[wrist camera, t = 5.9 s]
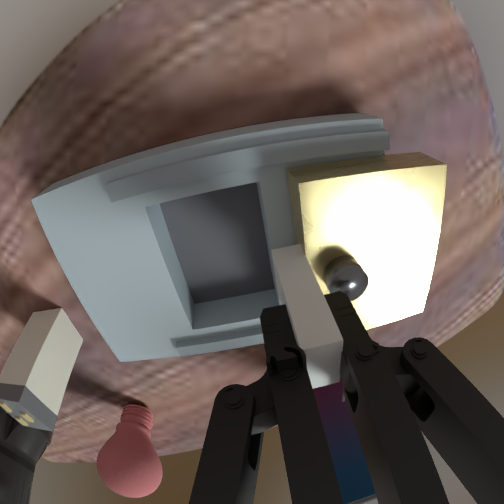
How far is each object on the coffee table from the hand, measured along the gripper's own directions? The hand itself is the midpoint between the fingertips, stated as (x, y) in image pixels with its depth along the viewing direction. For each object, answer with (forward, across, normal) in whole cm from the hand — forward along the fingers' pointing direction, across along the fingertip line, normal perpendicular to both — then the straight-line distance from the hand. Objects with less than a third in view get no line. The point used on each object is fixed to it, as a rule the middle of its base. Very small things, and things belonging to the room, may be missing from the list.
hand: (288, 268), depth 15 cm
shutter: (+1, +5, 0) cm, 5 cm away
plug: (+5, -21, -5) cm, 22 cm away
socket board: (+5, -4, 0) cm, 6 cm away
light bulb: (+5, -19, -19) cm, 27 cm away
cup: (+5, +3, -17) cm, 18 cm away
